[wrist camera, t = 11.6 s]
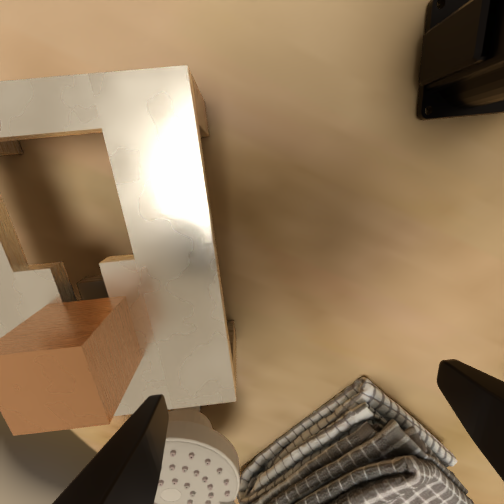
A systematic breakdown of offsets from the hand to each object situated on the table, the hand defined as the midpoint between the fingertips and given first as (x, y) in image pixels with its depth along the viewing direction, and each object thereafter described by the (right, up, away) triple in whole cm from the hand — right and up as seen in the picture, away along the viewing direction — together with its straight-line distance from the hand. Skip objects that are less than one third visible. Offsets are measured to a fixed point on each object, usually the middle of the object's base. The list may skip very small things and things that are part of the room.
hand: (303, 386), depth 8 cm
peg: (-10, +1, +9) cm, 14 cm away
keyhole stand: (-11, +5, +11) cm, 16 cm away
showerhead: (-7, -10, +16) cm, 20 cm away
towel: (+8, -18, +19) cm, 27 cm away
